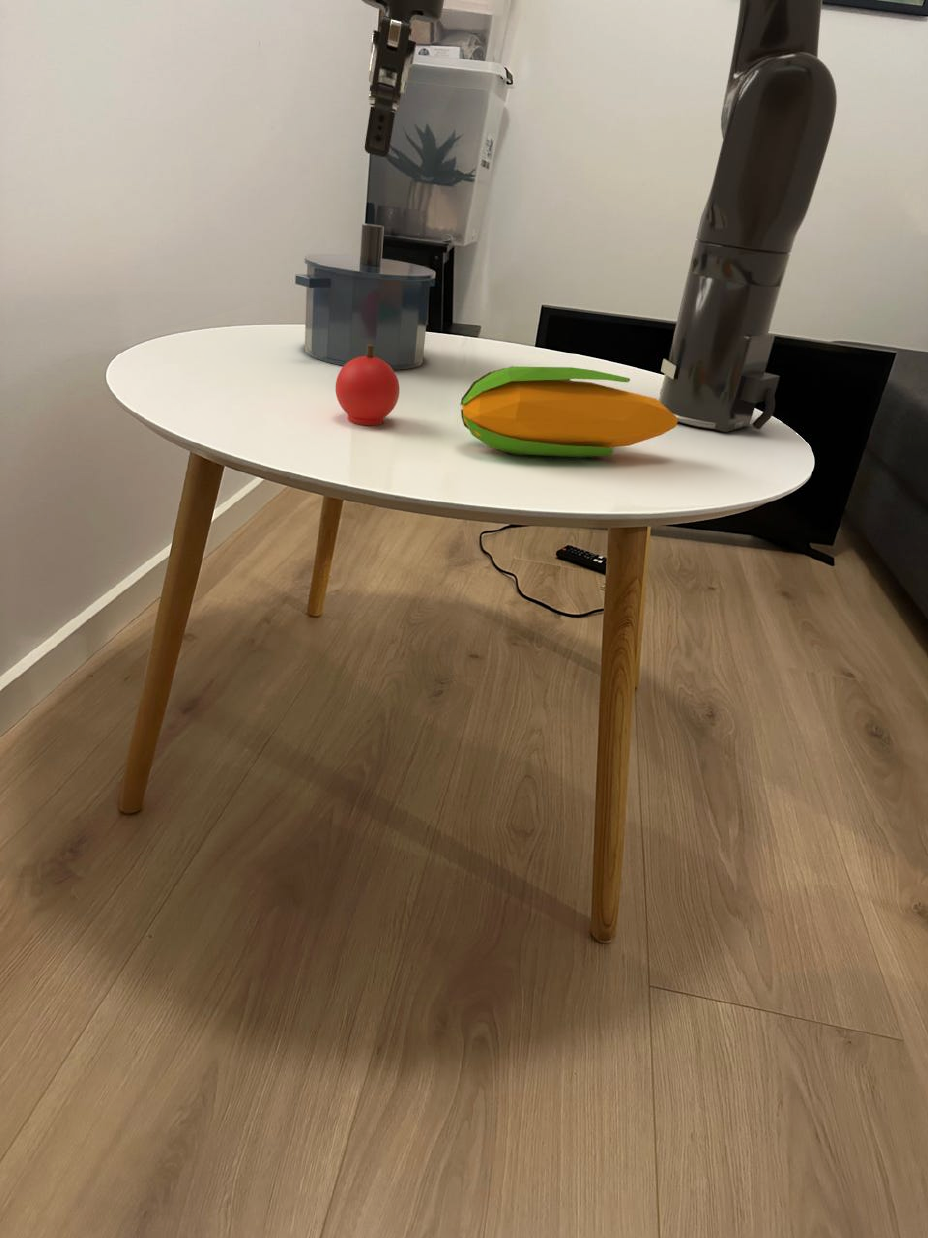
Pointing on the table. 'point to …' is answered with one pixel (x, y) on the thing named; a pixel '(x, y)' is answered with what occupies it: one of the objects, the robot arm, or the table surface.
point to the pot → (364, 317)
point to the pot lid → (370, 261)
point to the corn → (559, 412)
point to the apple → (367, 389)
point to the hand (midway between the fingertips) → (376, 153)
